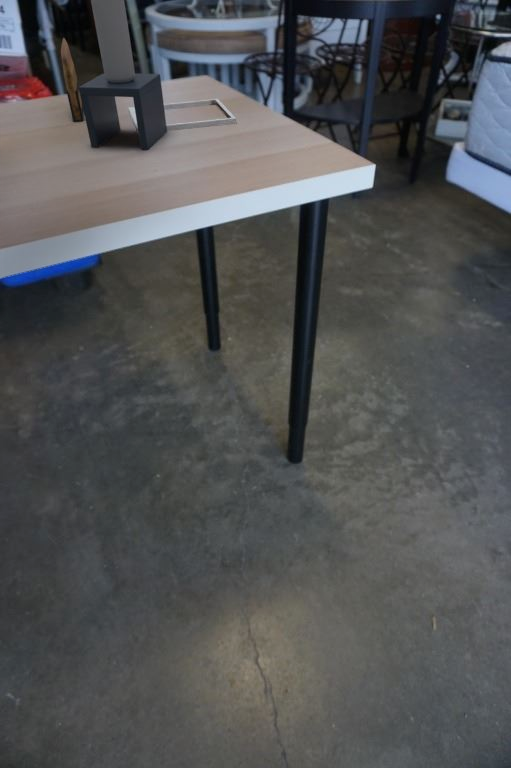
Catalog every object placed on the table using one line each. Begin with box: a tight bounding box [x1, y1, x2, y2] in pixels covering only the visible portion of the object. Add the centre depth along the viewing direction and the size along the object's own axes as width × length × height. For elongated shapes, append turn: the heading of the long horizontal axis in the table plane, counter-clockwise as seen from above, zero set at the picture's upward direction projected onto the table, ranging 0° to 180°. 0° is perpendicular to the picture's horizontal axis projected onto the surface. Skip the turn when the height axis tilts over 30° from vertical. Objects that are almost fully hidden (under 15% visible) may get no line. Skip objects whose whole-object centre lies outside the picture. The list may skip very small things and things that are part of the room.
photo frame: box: [127, 98, 237, 135], centre depth 101 cm, size 15×1×18 cm
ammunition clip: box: [60, 37, 85, 123], centre depth 100 cm, size 11×2×12 cm, turn 13°
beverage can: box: [90, 0, 136, 83], centre depth 82 cm, size 5×5×12 cm
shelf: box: [79, 72, 168, 151], centre depth 89 cm, size 10×10×9 cm
